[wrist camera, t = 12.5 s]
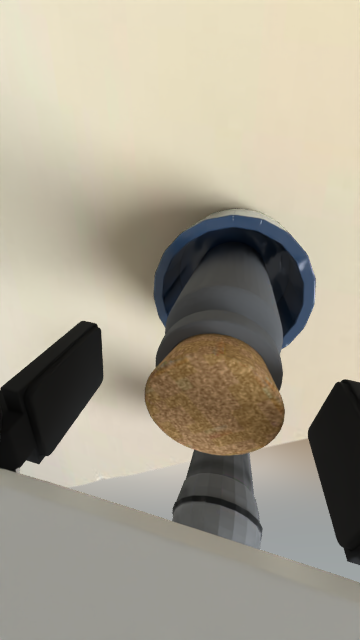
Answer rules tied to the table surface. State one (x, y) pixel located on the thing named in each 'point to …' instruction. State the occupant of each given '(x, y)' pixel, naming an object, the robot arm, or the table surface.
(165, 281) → the desk pot
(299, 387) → the table surface
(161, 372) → the bottle
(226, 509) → the beverage cup
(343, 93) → the table surface
